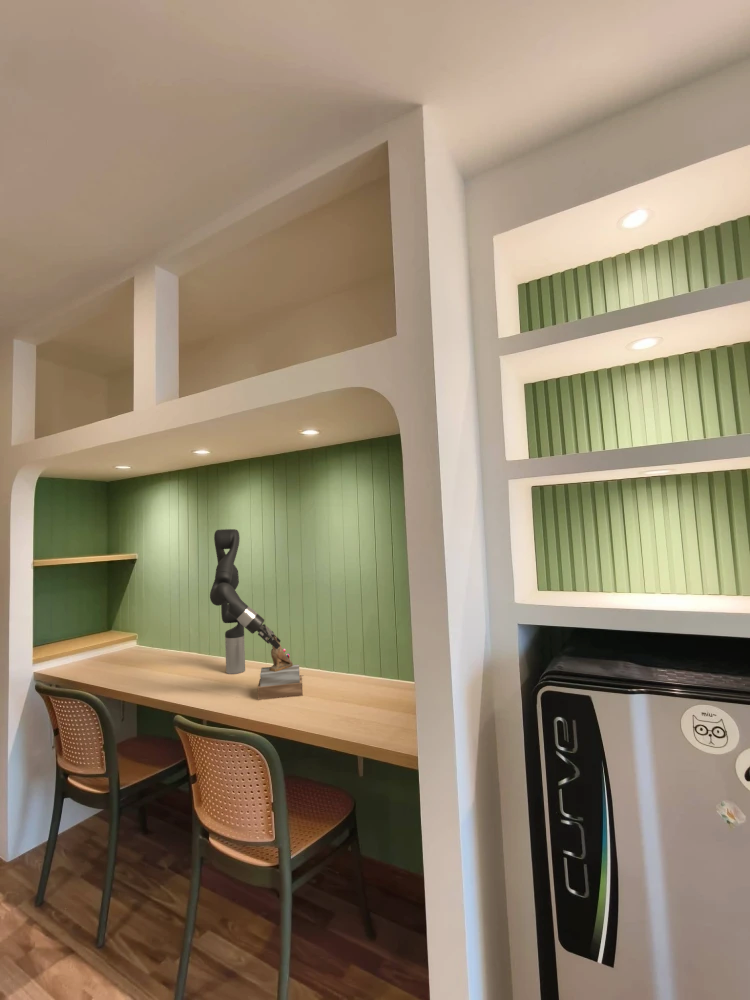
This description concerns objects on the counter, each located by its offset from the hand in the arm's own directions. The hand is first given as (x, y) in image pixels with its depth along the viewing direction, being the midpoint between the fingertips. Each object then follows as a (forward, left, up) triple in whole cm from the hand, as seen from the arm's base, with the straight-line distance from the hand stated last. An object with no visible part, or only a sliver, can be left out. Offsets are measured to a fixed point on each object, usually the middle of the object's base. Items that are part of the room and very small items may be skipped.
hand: (278, 644), depth 208 cm
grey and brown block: (0, 0, -20) cm, 20 cm away
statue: (-17, +3, -20) cm, 27 cm away
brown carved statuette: (-2, +1, -10) cm, 11 cm away
